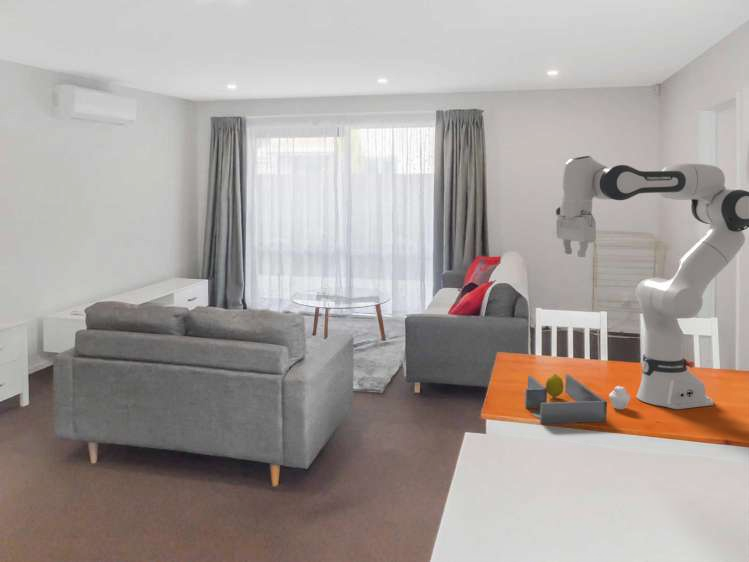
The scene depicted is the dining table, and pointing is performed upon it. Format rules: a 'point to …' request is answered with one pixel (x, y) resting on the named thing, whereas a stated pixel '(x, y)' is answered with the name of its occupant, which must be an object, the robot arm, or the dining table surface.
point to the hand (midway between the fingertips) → (574, 255)
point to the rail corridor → (565, 404)
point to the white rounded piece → (619, 397)
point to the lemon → (554, 385)
